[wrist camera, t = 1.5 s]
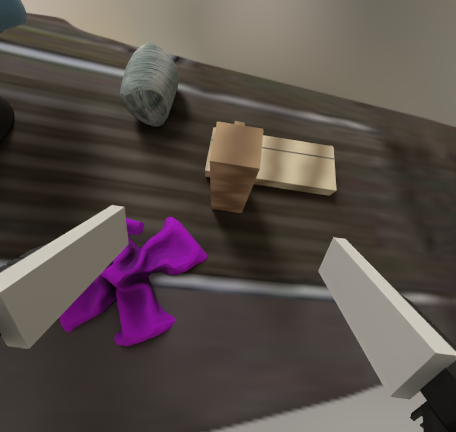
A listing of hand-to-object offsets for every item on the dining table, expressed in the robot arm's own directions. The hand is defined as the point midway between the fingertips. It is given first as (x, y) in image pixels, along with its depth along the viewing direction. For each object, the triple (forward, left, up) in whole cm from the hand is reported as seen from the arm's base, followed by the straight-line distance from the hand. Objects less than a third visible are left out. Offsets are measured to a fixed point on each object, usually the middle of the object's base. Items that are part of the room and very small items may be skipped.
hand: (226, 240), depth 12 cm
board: (-8, +18, -17) cm, 26 cm away
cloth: (-8, -11, -17) cm, 22 cm away
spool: (-31, +10, -17) cm, 37 cm away
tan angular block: (-10, +11, -17) cm, 22 cm away
